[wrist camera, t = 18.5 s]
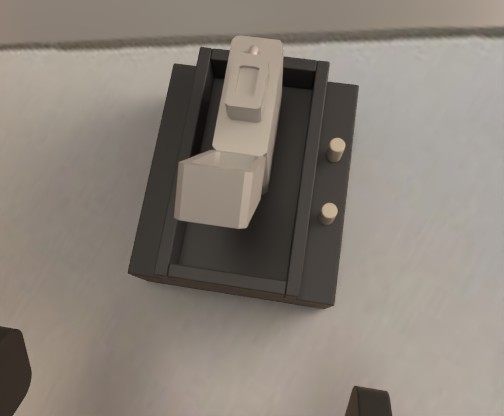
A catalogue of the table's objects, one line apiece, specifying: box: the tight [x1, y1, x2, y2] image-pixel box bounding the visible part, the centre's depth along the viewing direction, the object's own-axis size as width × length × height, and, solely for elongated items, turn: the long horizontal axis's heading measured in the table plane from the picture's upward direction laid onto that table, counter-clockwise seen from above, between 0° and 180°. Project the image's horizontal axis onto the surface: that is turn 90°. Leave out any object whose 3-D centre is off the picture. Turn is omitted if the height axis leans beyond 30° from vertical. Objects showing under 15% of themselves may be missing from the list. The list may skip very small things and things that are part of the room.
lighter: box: [174, 35, 284, 229], centre depth 15 cm, size 7×2×8 cm, turn 171°
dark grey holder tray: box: [128, 47, 359, 309], centre depth 20 cm, size 8×9×4 cm
